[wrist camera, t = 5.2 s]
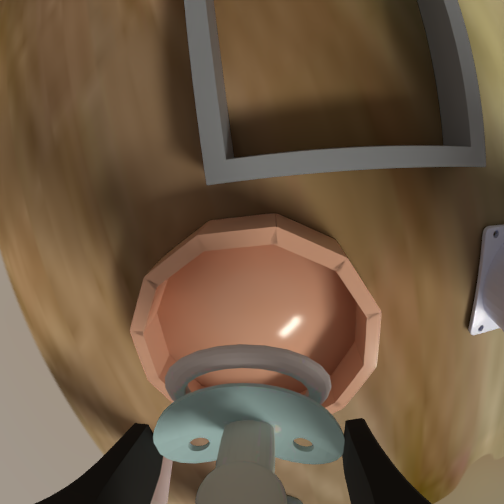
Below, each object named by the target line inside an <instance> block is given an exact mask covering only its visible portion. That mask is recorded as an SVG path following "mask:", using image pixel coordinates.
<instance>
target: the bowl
mask: <svg viewBox="0 0 504 504" xmlns="http://www.w3.org/2000/svg"><path fill="white" fill-rule="evenodd" d="M381 313H382V312H381V310H380V309H379V307H378V305H377V304H376V302H375V300H374V298H373V297H372V295H371V294H370V292H369V290H368V289H367V287H366V285H365V284H364V282H363V281H362V279H361V277H360V276H359V274H358V273H357V271H356V270H355V268H354V267H353V265H352V263H351V262H350V260H349V259H348V257H347V256H346V254H345V253H344V251H343V250H342V248H341V247H340V245H339V244H338V242H337V241H336V240H335V239H333V238H331V237H329V236H327V235H324V234H322V233H320V232H318V231H315V230H313V229H311V228H309V227H307V226H304V225H302V224H300V223H298V222H295V221H293V220H291V219H289V218H286V217H284V216H282V215H279V214H277V213H276V214H275V213H271V214H261V215H252V216H243V217H234V218H226V219H217V220H210V221H208V222H207V223H205V224H204V225H203V226H201V227H200V228H199V229H198V230H196V231H195V232H194V233H192V234H191V235H190V236H189V237H187V238H186V239H185V240H184V241H182V242H181V243H180V244H178V245H177V246H176V247H175V248H173V249H172V250H171V251H170V252H168V253H167V254H166V255H165V256H163V257H162V258H161V259H160V261H159V262H158V263H157V264H156V265H155V266H154V267H153V268H152V269H151V270H150V271H149V272H148V273H147V274H146V276H145V277H144V279H143V282H142V286H141V290H140V293H139V297H138V301H137V304H136V308H135V312H134V316H133V320H132V324H131V328H130V333H131V336H132V339H133V342H134V345H135V347H136V350H137V353H138V356H139V358H140V361H141V364H142V366H143V369H144V372H145V374H146V377H147V379H148V381H149V382H150V383H151V384H152V385H153V386H155V387H156V388H157V389H158V390H159V391H160V392H161V393H162V394H163V395H164V396H165V397H167V398H168V399H169V400H170V401H171V402H172V403H173V402H174V401H173V400H172V399H171V397H170V396H169V394H168V392H167V390H166V388H165V376H166V374H167V372H168V370H169V368H170V367H171V366H172V365H173V364H174V363H176V362H177V361H178V360H179V359H181V358H182V357H185V356H187V355H189V354H191V353H194V352H196V351H198V350H203V349H207V348H212V347H216V346H225V345H237V344H247V345H266V346H271V347H277V348H282V349H288V350H291V351H293V352H296V353H299V354H302V355H305V356H307V357H309V358H310V359H312V360H313V361H315V362H317V363H318V364H320V365H321V366H322V367H323V368H324V369H325V371H326V372H327V373H328V374H329V376H330V380H331V386H332V387H331V390H330V392H329V395H328V398H327V399H326V400H325V401H324V402H323V403H322V404H321V405H322V406H323V407H324V408H326V409H327V410H328V411H329V412H330V413H331V414H332V413H334V412H336V411H338V410H340V409H342V408H344V407H345V406H346V404H347V403H348V402H349V401H350V400H351V398H352V397H353V396H354V395H355V394H356V392H357V391H358V390H359V389H360V387H361V386H362V385H363V384H364V382H365V381H366V380H367V378H368V377H369V376H370V374H371V373H372V372H373V371H374V369H375V368H376V366H377V358H378V349H379V338H380V326H381ZM229 383H258V384H266V385H272V386H277V387H281V388H285V389H289V390H292V391H295V392H297V393H300V394H302V395H305V393H306V392H307V388H306V387H305V385H304V384H303V383H302V382H300V381H298V380H296V379H295V378H293V377H291V376H288V375H285V374H282V373H278V372H275V371H269V370H263V369H252V368H234V369H223V370H218V371H213V372H209V373H206V374H204V375H201V376H198V377H196V378H195V379H193V380H192V381H191V382H189V383H188V387H189V389H190V391H191V392H194V391H196V390H199V389H202V388H206V387H210V386H215V385H220V384H229Z"/></svg>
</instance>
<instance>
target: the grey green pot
mask: <svg viewBox="0 0 504 504" xmlns="http://www.w3.org/2000/svg"><path fill="white" fill-rule="evenodd" d="M286 497H287V504H303V503H302V502H301V501H300V500H299V499H297V498H294V497H291V496H287V495H286Z"/></svg>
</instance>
